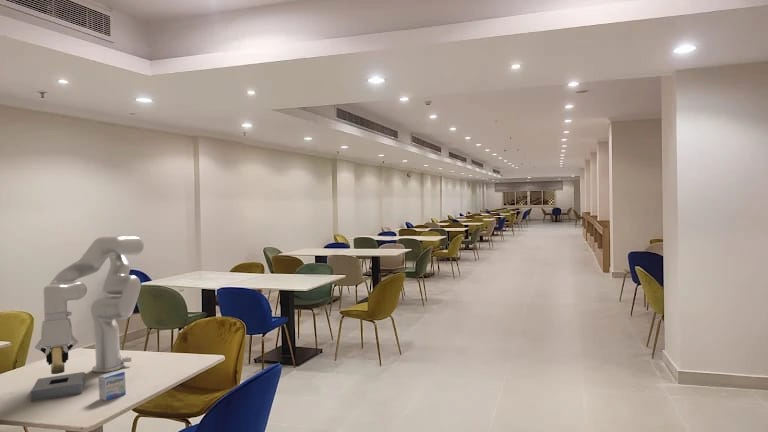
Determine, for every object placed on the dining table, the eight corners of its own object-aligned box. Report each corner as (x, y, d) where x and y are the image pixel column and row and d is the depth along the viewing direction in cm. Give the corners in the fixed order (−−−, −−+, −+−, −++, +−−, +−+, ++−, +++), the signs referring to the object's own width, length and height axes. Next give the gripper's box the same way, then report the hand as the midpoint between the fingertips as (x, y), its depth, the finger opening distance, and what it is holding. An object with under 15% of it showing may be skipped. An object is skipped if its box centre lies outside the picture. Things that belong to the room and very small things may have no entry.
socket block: (84, 381, 211) (84, 371, 211) (81, 393, 196) (80, 383, 196) (38, 388, 204) (38, 378, 204) (31, 401, 189) (30, 391, 189)
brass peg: (65, 370, 202) (64, 344, 202) (63, 372, 199) (62, 347, 198) (52, 371, 201) (51, 346, 201) (50, 374, 197) (49, 348, 197)
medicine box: (105, 401, 188) (104, 377, 188) (99, 399, 190) (97, 375, 190) (126, 394, 194) (125, 371, 194) (119, 392, 197) (118, 369, 197)
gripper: (81, 312, 207) (83, 357, 207) (31, 317, 199) (33, 364, 199) (80, 315, 200) (81, 362, 200) (28, 320, 192) (29, 369, 192)
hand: (57, 362), depth 200 cm, fingers closed on brass peg, 4 cm apart
